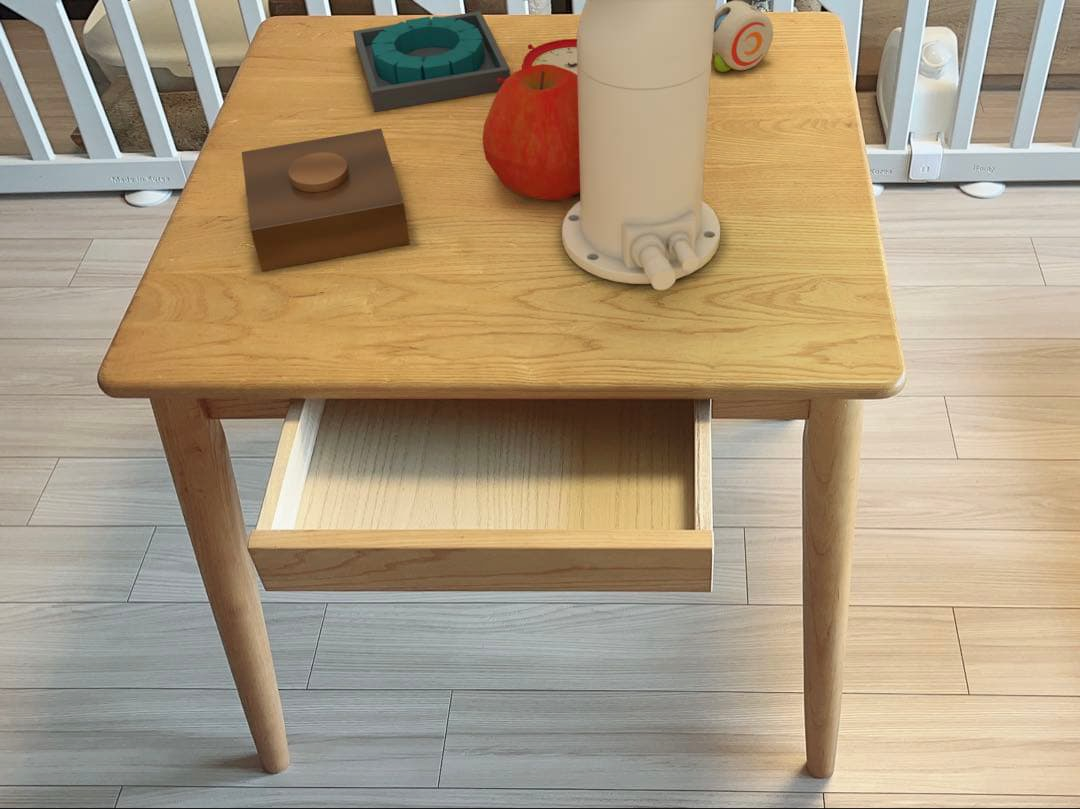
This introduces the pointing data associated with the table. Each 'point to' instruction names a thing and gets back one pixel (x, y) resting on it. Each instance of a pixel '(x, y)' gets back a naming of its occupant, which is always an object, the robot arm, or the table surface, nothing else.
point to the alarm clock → (552, 55)
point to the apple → (536, 133)
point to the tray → (434, 88)
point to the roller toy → (740, 36)
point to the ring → (426, 34)
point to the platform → (323, 199)
